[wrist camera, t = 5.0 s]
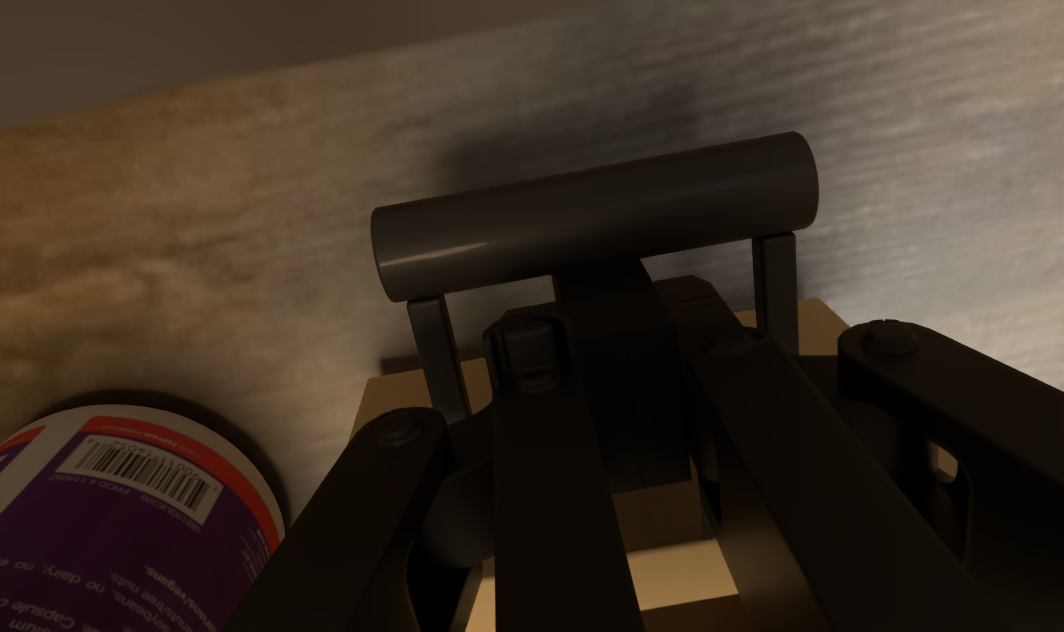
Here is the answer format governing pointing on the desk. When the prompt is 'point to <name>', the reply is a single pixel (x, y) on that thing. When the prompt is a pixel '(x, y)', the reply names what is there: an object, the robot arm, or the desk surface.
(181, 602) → the pill bottle
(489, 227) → the drawer
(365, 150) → the desk surface
